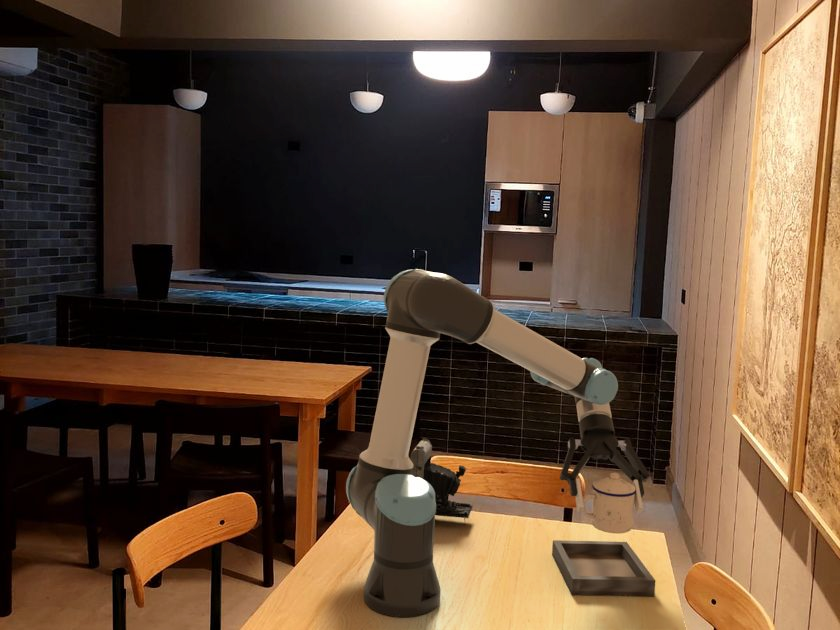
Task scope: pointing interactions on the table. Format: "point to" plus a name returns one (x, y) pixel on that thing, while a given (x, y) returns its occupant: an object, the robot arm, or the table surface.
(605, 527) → the teacup with lid
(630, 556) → the tray
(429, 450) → the vintage camera
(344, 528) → the table surface
